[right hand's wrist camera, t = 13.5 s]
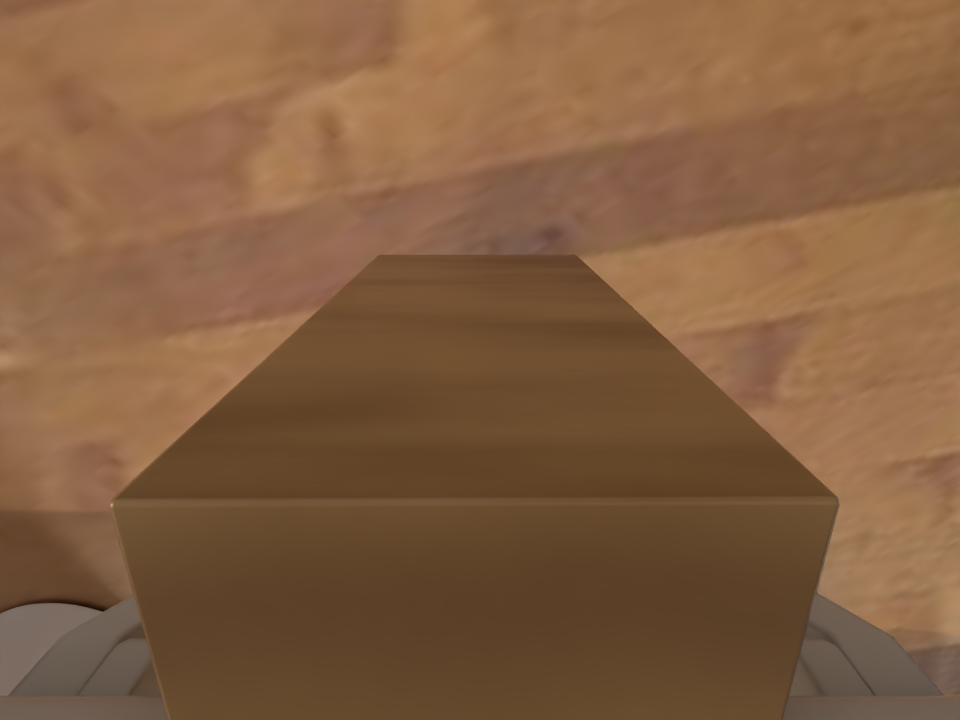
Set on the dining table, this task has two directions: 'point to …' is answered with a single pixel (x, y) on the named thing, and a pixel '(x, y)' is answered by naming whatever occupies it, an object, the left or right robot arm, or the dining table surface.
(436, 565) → the box
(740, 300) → the dining table surface
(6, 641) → the right robot arm
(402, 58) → the dining table surface
